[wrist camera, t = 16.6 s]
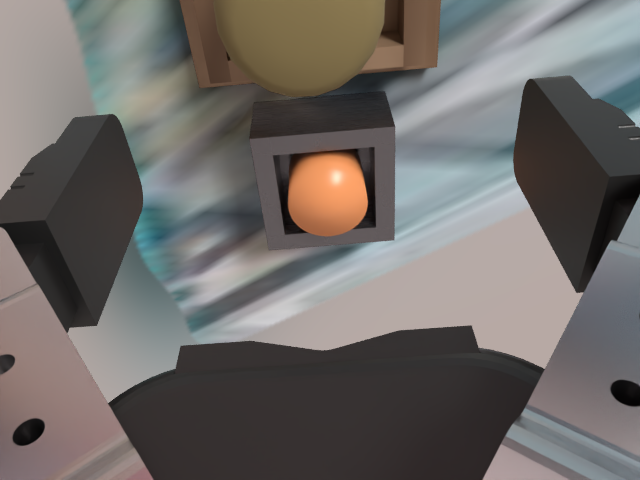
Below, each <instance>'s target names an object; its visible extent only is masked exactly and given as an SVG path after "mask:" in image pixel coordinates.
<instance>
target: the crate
mask: <svg viewBox="0 0 640 480" xmlns="http://www.w3.org/2000/svg"><path fill="white" fill-rule="evenodd" d="M213 2H214V0H180V4H181V8H182V13H183V17H184V22H185V26H186V31H187V35H188V39H189V44H190V48H191V53H192V57H193V62H194V66H195V70H196V75H197V79H198V84H199V88H206V87H217V86H229V85H240V84H251V83H255V82H253V81H251V80H250V79H248V78H247V77H246V76H245V75H244V74H243V73H242V71H241V70H240V69H239V68H238V67H237V66H236V65H235V64H234V63H233V62H232V60H231V59H230V57H229V55H228V53H227V51H226V49H225V46H224V44H223V42H222V40H221V38H220V36H219V34H218V31H217V25H216V18H215V12H214V5H213ZM440 4H441V0H385V15H384V25H383V28H382V31H381V34H380V37H379V39H378V42H377V45H376V48H375V51H374V53H373V55H372V56H371V57H370V59H369V60H368V61H367V63H366V64H365V65H364V67H363V68H362V69H361V71H360V72H359V73H358V74H365V73H376V72H387V71H399V70H410V69H421V68H433V67H437V59H438V41H439V23H440Z"/></svg>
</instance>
